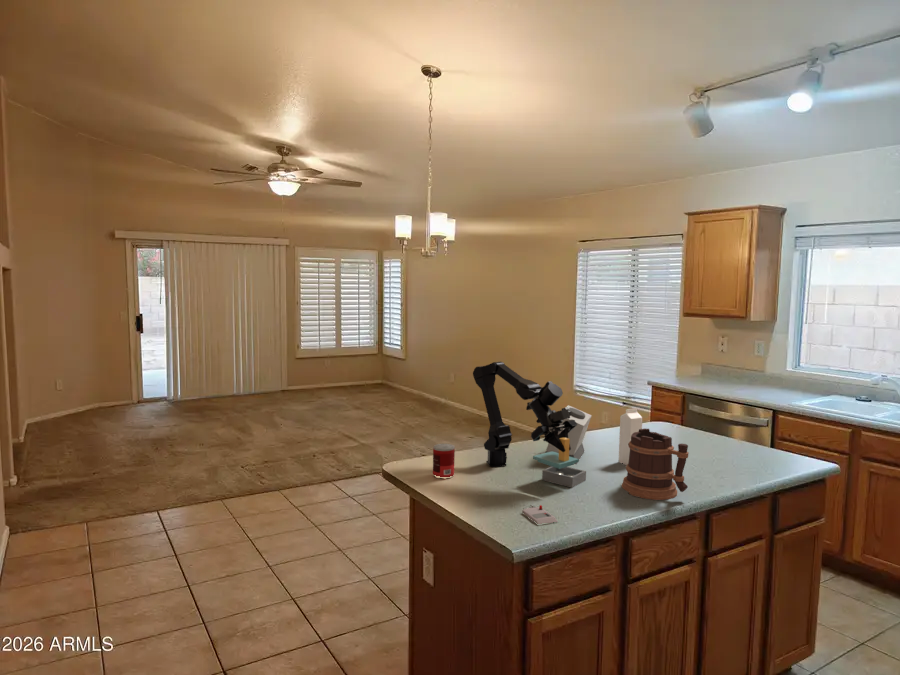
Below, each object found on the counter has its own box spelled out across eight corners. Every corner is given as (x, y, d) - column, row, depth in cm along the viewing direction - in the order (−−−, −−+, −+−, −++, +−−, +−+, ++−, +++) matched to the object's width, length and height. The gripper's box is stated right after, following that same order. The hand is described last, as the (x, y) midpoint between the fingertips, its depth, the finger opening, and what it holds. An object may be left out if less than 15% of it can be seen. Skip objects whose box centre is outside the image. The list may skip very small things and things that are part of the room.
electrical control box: (541, 530, 165) (541, 520, 165) (515, 510, 179) (515, 500, 179) (561, 527, 167) (561, 517, 167) (534, 507, 182) (534, 498, 182)
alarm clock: (553, 447, 249) (554, 401, 247) (590, 452, 243) (592, 405, 241) (542, 460, 230) (544, 410, 228) (582, 466, 224) (584, 414, 222)
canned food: (457, 474, 211) (458, 445, 210) (448, 480, 204) (448, 450, 203) (438, 471, 215) (439, 442, 214) (429, 477, 207) (429, 447, 206)
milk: (618, 462, 230) (620, 407, 228) (629, 460, 232) (631, 406, 230) (629, 466, 224) (631, 410, 222) (640, 464, 227) (642, 409, 225)
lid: (533, 461, 202) (533, 435, 201) (551, 456, 208) (552, 430, 207) (559, 470, 193) (560, 442, 192) (578, 464, 199) (579, 437, 198)
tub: (542, 481, 205) (542, 470, 205) (556, 474, 213) (556, 464, 212) (572, 489, 197) (572, 477, 197) (585, 482, 205) (586, 471, 205)
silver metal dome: (562, 481, 203) (562, 476, 203) (567, 479, 206) (568, 473, 206) (572, 484, 201) (572, 478, 200) (578, 481, 204) (578, 476, 203)
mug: (671, 508, 182) (674, 446, 180) (610, 488, 199) (612, 431, 198) (700, 495, 194) (703, 437, 192) (640, 477, 211) (642, 424, 209)
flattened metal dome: (550, 478, 206) (550, 473, 206) (555, 475, 209) (555, 470, 209) (559, 481, 204) (560, 475, 204) (565, 478, 207) (565, 472, 207)
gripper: (538, 403, 193) (562, 442, 185) (573, 397, 205) (598, 433, 197) (520, 421, 200) (543, 460, 192) (556, 414, 211) (579, 451, 204)
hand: (567, 450), depth 196 cm, fingers closed on lid, 2 cm apart
